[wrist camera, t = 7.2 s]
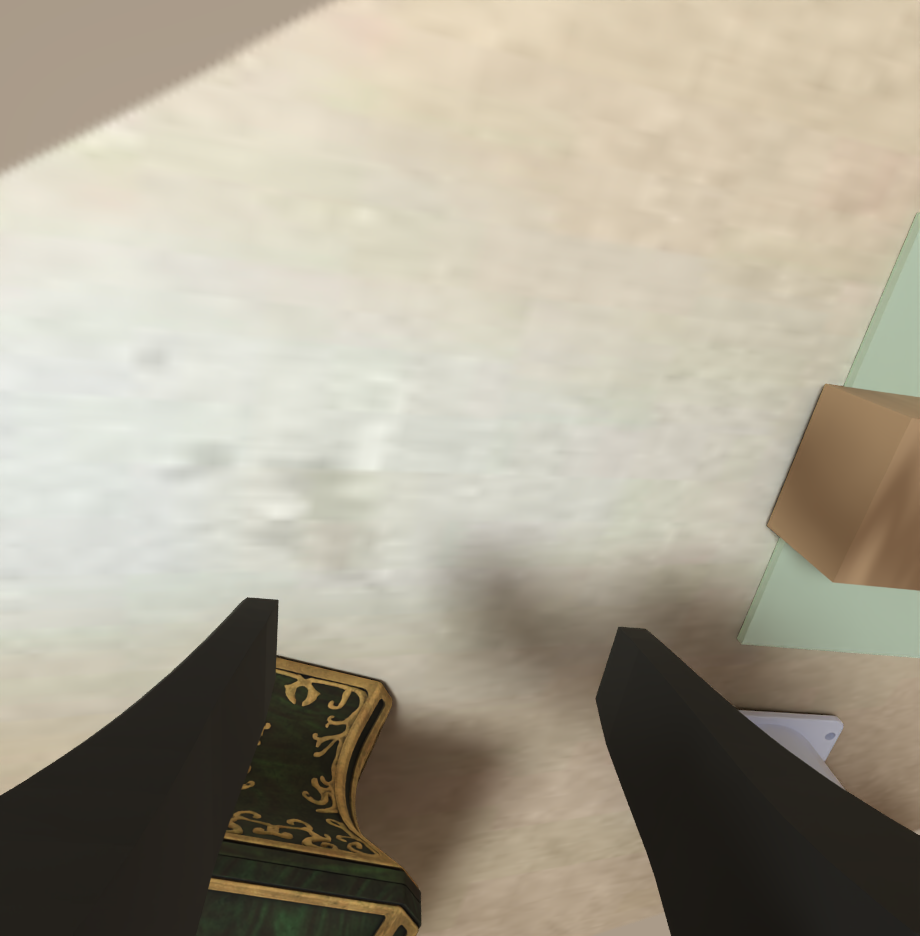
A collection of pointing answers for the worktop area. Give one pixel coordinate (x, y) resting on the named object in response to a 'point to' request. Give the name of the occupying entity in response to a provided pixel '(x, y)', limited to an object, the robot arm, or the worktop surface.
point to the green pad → (794, 578)
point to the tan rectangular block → (857, 489)
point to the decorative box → (309, 822)
